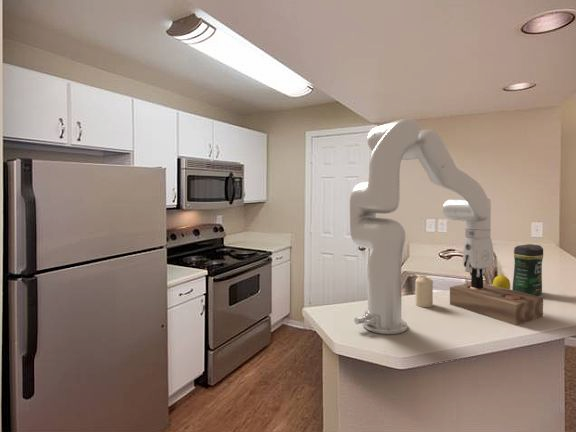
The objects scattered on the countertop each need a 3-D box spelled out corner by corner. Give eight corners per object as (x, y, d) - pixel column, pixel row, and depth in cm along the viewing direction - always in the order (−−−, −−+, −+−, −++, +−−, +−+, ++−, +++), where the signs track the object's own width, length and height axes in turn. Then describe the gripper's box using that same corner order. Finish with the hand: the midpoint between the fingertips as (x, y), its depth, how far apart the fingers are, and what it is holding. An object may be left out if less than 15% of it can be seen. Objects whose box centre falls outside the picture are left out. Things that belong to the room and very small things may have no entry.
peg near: (515, 317, 106) (515, 299, 105) (502, 314, 109) (502, 296, 109) (522, 315, 107) (523, 297, 107) (509, 311, 111) (510, 294, 111)
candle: (434, 307, 117) (434, 278, 116) (416, 307, 118) (416, 278, 118) (430, 302, 122) (430, 274, 122) (414, 302, 124) (414, 274, 123)
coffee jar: (530, 298, 125) (532, 247, 124) (508, 292, 132) (509, 244, 131) (546, 294, 129) (547, 244, 128) (524, 289, 136) (525, 242, 135)
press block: (515, 325, 101) (515, 304, 100) (449, 304, 120) (449, 287, 120) (542, 316, 107) (543, 297, 107) (476, 298, 127) (476, 281, 126)
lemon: (498, 298, 126) (499, 276, 125) (489, 294, 131) (489, 273, 131) (513, 298, 126) (514, 276, 125) (503, 293, 131) (504, 272, 131)
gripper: (473, 237, 111) (472, 293, 112) (502, 233, 117) (501, 286, 119) (452, 234, 117) (452, 288, 119) (481, 231, 124) (480, 282, 125)
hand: (477, 287), depth 119 cm, fingers closed
